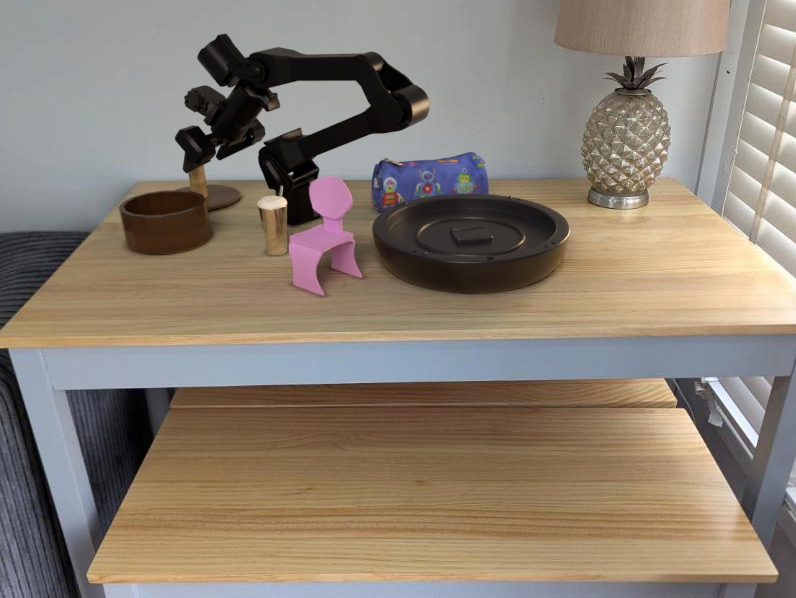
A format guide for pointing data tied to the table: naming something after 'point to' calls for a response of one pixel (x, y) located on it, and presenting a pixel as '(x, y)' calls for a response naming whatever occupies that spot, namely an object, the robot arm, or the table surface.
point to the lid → (211, 190)
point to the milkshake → (274, 222)
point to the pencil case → (427, 179)
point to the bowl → (165, 222)
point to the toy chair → (324, 235)
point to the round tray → (470, 242)
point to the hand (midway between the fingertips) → (201, 164)
